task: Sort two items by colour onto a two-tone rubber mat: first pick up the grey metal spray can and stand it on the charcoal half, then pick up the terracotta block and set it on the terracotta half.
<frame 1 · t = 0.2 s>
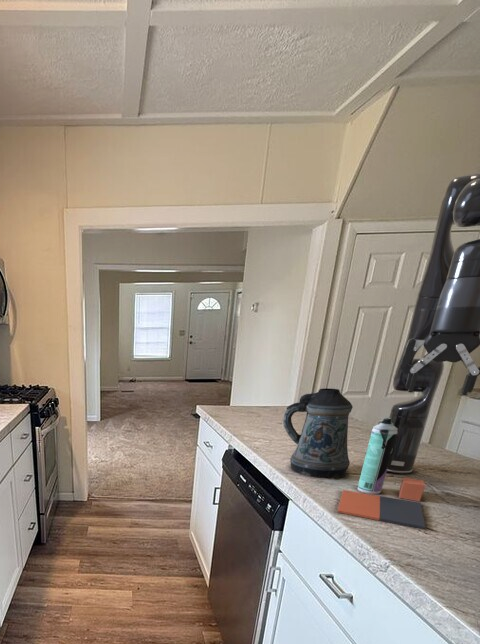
hand: (436, 393, 82), 29 cm above the countertop, tool pointing down, fingers open, 8 cm apart
terracotta block: (409, 496, 106), on the countertop
beer stein: (312, 470, 127), on the countertop
spray can: (368, 491, 111), on the countertop
sorting mat: (379, 508, 99), on the countertop
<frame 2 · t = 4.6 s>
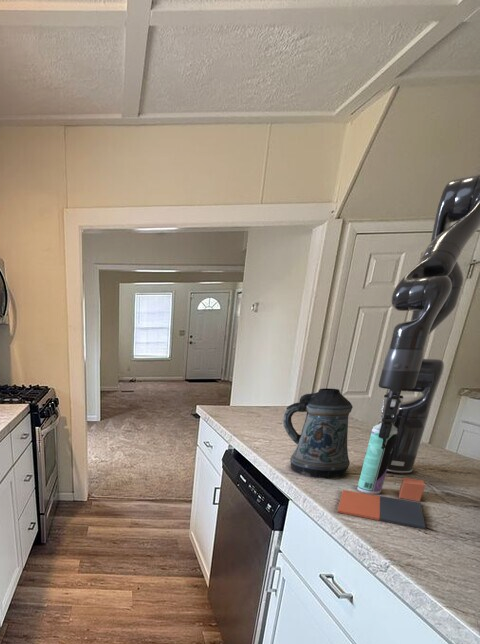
hand: (383, 435, 105), 15 cm above the countertop, tool pointing down, fingers closed on spray can, 5 cm apart
spray can: (368, 491, 111), on the countertop, touching gripper
everything else where it was.
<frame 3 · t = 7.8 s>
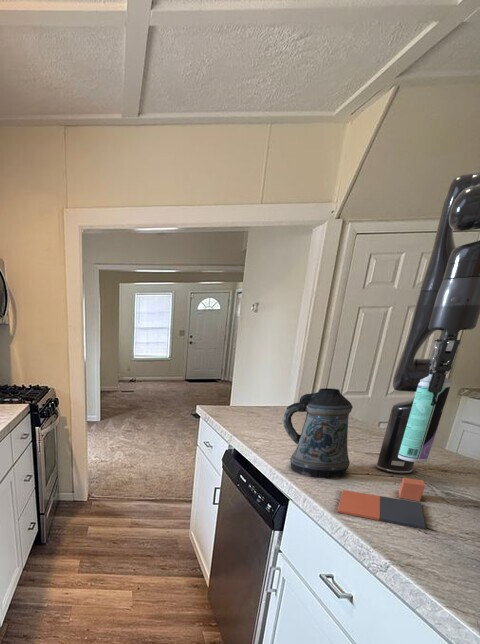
hand: (432, 390, 87), 29 cm above the countertop, tool pointing down, fingers closed on spray can, 5 cm apart
spray can: (411, 459, 93), point 13 cm above the countertop, touching gripper
everything else where it was.
when the fingers open (16 cm above the countertop, at t = 11.3 s): spray can stays where it is, resting on sorting mat.
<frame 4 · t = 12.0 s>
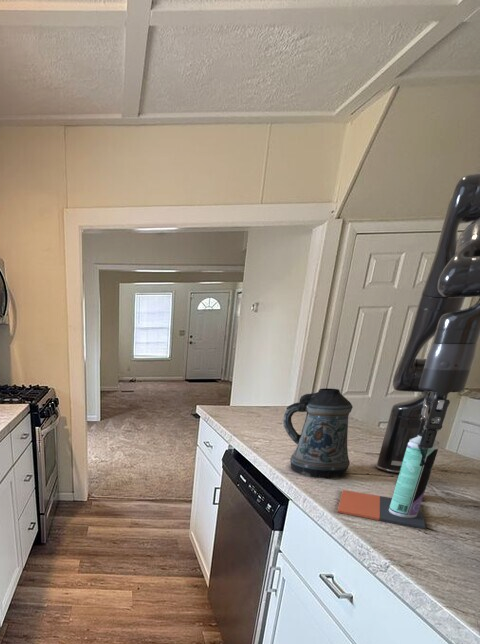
hand: (423, 443, 89), 18 cm above the countertop, tool pointing down, fingers open, 8 cm apart
spray can: (402, 513, 95), resting on sorting mat
everything else where it was.
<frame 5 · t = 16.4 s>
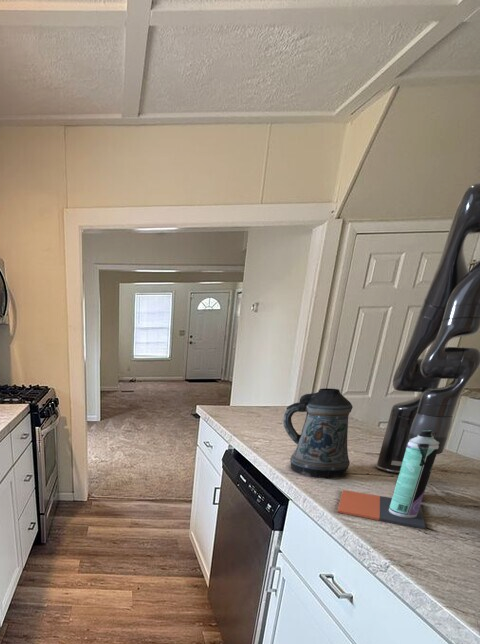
hand: (409, 495, 106), 0 cm above the countertop, tool pointing down, fingers closed on terracotta block, 4 cm apart
terracotta block: (409, 496, 106), on the countertop, touching gripper
everything else where it was.
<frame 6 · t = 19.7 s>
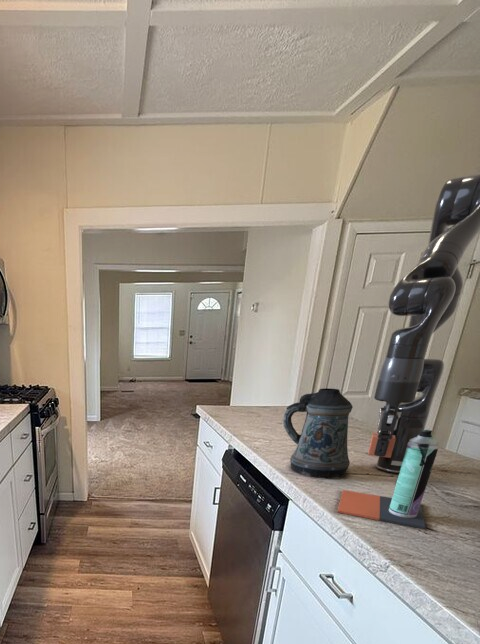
hand: (379, 452, 96), 14 cm above the countertop, tool pointing down, fingers closed on terracotta block, 4 cm apart
terracotta block: (379, 454, 96), point 14 cm above the countertop, touching gripper
everything else where it was.
when the fingers open (1 cm above the countertop, at t = 23.2 s): terracotta block stays where it is, resting on sorting mat.
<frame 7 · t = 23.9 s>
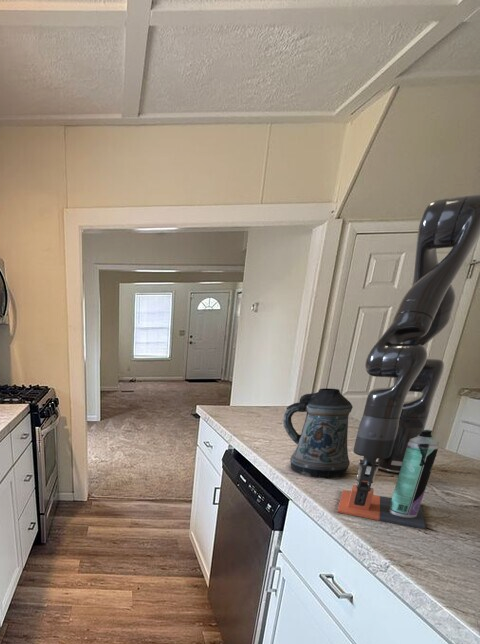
hand: (359, 499, 99), 2 cm above the countertop, tool pointing down, fingers open, 8 cm apart
terracotta block: (358, 505, 100), point 1 cm above the countertop, touching sorting mat
everything else where it was.
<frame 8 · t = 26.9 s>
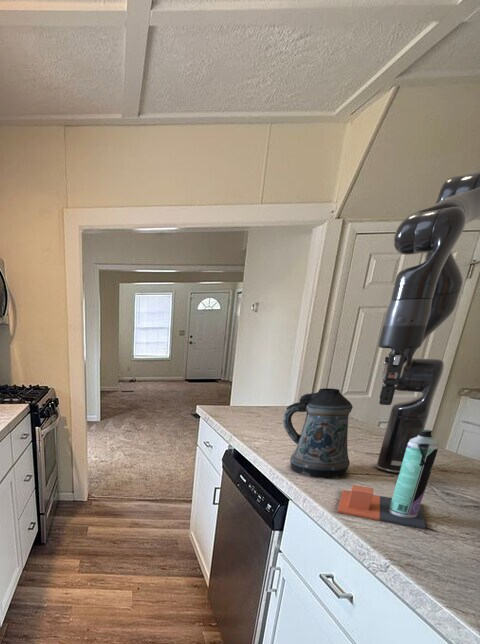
hand: (384, 401, 90), 26 cm above the countertop, tool pointing down, fingers open, 8 cm apart
nothing on the countertop moved.
at the end: spray can inside the target area (0.9 cm from its centre), resting on sorting mat; spray can tilted 0°; terracotta block inside the target area (1.1 cm from its centre), point 0.6 cm above the countertop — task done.
